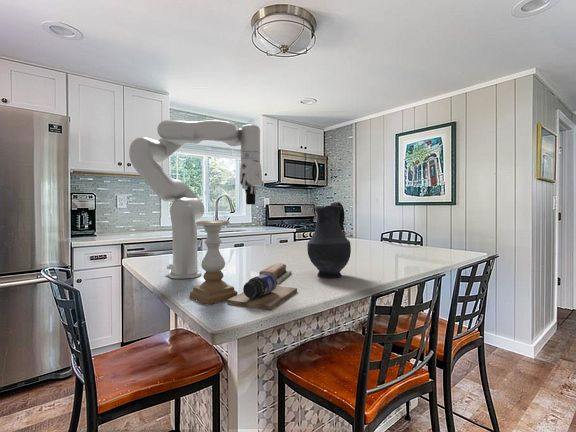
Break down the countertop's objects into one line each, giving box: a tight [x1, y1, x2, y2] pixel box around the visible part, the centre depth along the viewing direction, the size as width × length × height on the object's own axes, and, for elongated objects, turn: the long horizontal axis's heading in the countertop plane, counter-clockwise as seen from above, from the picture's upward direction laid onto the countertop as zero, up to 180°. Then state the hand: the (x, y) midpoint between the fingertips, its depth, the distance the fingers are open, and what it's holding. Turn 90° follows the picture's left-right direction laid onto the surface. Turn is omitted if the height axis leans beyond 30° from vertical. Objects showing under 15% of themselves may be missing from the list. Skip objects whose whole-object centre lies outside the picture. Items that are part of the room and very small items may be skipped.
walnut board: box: [226, 285, 298, 311], centre depth 100 cm, size 14×20×1 cm
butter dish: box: [258, 262, 292, 284], centre depth 128 cm, size 18×5×10 cm
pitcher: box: [306, 201, 352, 279], centre depth 131 cm, size 17×21×30 cm
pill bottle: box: [242, 273, 278, 298], centre depth 98 cm, size 6×6×11 cm
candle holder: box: [189, 220, 238, 306], centre depth 100 cm, size 11×11×24 cm
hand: (250, 204), depth 126 cm, fingers closed
